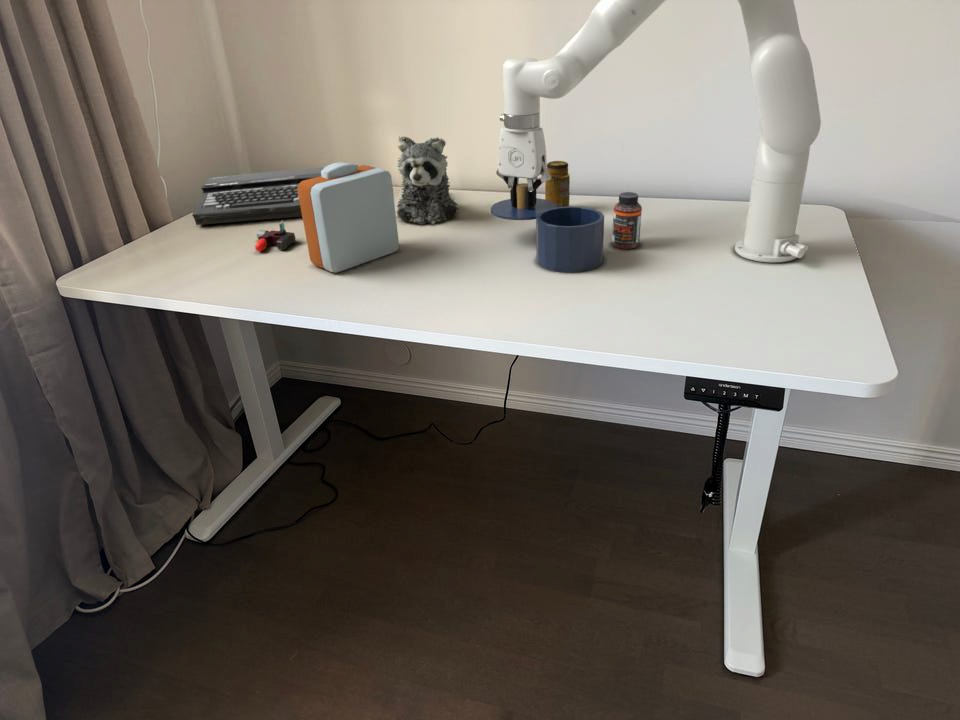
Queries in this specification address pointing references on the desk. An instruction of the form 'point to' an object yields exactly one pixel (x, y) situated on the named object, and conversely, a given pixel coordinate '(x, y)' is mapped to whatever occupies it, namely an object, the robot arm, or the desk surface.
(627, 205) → the supplement bottle
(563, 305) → the desk surface
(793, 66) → the robot arm
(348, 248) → the alarm clock
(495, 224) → the desk surface
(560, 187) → the condiment
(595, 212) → the tin
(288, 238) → the toy gun
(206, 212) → the vintage computer
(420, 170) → the raccoon plush
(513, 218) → the tin lid
